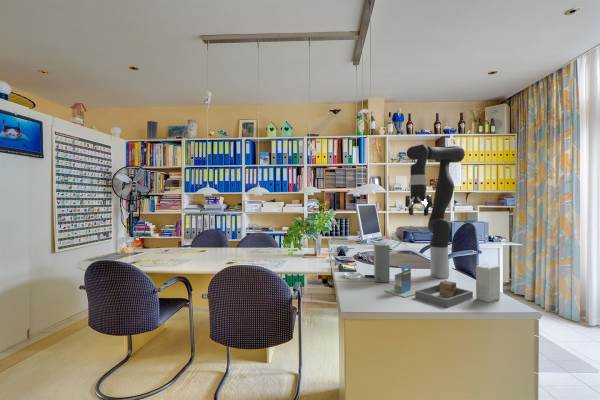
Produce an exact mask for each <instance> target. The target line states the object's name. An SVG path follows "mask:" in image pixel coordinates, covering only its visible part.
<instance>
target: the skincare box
mask: <svg viewBox="0 0 600 400" xmlns="http://www.w3.org/2000/svg"><path fill="white" fill-rule="evenodd" d="M500 268H501V267H500V266H499V265H495V264H490V263H484V264H480V265H479V264H478V265H475V290H476V291H475V297H476V299H477V300H481V301H483V302H486V303H492V302H495V301H497V300H500V299H501V276H500V275H501V274H500V272H501V269H500Z"/></svg>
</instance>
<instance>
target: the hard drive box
mask: <svg viewBox="0 0 600 400" xmlns="http://www.w3.org/2000/svg"><path fill="white" fill-rule="evenodd" d="M373 271H374V272H373V273H374V275H373V277H374V282H375V283H390V245H389V243H388V242H387V241H374V242H373Z"/></svg>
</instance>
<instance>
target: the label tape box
mask: <svg viewBox="0 0 600 400" xmlns="http://www.w3.org/2000/svg"><path fill="white" fill-rule="evenodd" d="M400 269H401V272H399V273H397V274H394V287H395V292H397V293H401V294H402V293H404V292H406V291H408V290H411V289H412V288H411V287H412V286H411V285H412V283H411V282H412V281H411V280H412V273H411V272H412V267H411V264H408V265H405V266H402V267H401V268H400Z"/></svg>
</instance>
